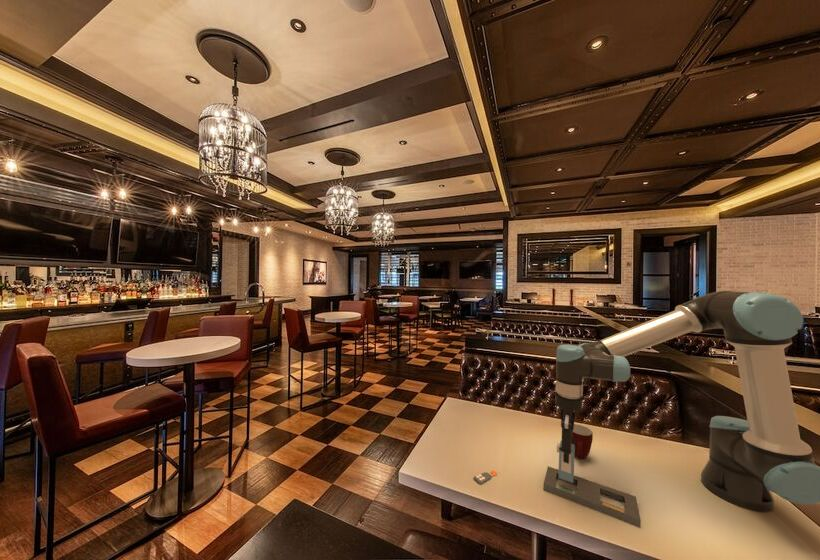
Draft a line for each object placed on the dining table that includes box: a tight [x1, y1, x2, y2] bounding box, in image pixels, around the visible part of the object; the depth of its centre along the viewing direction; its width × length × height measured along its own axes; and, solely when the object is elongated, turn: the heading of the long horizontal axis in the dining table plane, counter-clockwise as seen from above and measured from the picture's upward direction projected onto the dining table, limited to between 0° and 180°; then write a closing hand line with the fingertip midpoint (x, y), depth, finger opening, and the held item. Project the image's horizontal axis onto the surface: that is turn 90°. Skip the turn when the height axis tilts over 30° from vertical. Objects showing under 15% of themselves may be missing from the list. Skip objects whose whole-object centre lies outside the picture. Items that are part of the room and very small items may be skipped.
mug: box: [571, 423, 594, 460], centre depth 106 cm, size 10×8×10 cm
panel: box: [543, 465, 642, 528], centre depth 87 cm, size 24×10×2 cm, turn 57°
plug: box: [556, 440, 575, 483], centre depth 91 cm, size 5×4×10 cm
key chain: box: [473, 470, 501, 486], centre depth 96 cm, size 13×4×2 cm, turn 122°
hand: (566, 466), depth 90 cm, fingers closed on plug, 4 cm apart
